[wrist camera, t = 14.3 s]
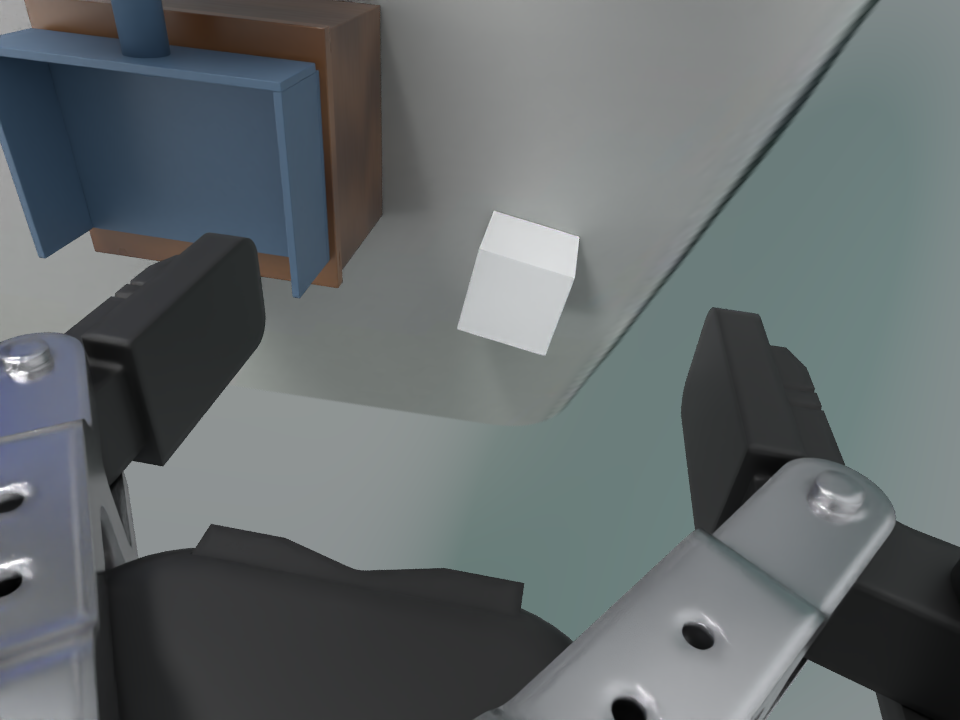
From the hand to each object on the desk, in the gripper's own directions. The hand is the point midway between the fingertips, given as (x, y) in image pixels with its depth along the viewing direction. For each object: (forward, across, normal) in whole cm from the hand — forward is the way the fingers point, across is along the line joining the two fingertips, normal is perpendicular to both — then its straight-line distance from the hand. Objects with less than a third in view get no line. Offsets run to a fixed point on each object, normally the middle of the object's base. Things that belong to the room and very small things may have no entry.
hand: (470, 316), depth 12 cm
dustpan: (+22, +18, +1) cm, 29 cm away
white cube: (+32, +1, +15) cm, 36 cm away
